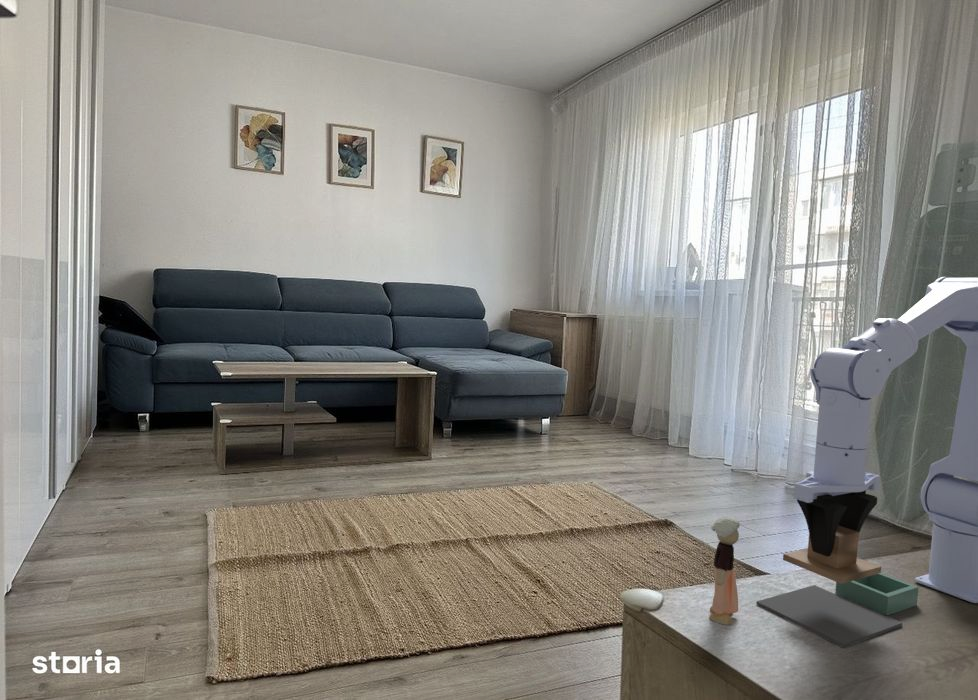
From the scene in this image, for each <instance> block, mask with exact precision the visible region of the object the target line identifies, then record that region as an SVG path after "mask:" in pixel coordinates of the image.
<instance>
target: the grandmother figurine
mask: <svg viewBox="0 0 978 700" xmlns="http://www.w3.org/2000/svg"><path fill="white" fill-rule="evenodd" d="M740 524H741V523H740V521H739V519H737V518H736V517H733V516H730V515H723V516H721V517H719V518H718V519H716V520H715V522H714V523H713V525H711V527H710V528H711V531H713V532H715V533H716V537H717V539H718V541H719V542H718V543H717V547H716V549H715V554H714V560H713V565H714V570H713V579H714V581H713V582H714V595H713V600H712V603H711V607H710V608H709V611H710V614H709V617H708V619H710V620H711V621H713V622H717V623H718V624H721V625H726V626H729V625H732V624H733V621H734V620H733V618H732V616H733V615H734V614H736V613H737V612H739V595H738V593H739V592H738V586H737V579H736V574H735V569H734V560H735V555H734V551H735V550H734V549H735V547H734V545H735V544H736V543H738V540H739V533H740V532H739V530H738V529H739V528H740V526H741V525H740Z"/></svg>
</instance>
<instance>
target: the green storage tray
mask: <svg viewBox="0 0 978 700" xmlns="http://www.w3.org/2000/svg"><path fill="white" fill-rule="evenodd" d="M834 594H836V595H839V596H841V597H843V598H846V599H848V600H850V601H853V602H855V603H857V604H860V605H862V606H864V607H867V608H869V609H871V610H874V611H876V612H878V613H881V614H883V615H885V616H891V615H893V614H895V613H898V612H902V611H904V610H907V609H910V608H913V607H916V606H917V605H918V598H919V597H918V596H919V586H917V585H915V584H912V583H909V582H906V581H904V580H901V579H898V578H896V577H894V576H893V577H892V576H890V575H888V574H885V573H883V572H881V573H878V574H875V575H871V576H868V577H864V578H861V579H857V580H854V581H851V582H847V583H844V584H840V583H838V582H836V583H835V591H834Z"/></svg>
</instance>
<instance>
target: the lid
mask: <svg viewBox="0 0 978 700" xmlns="http://www.w3.org/2000/svg"><path fill="white" fill-rule="evenodd" d="M859 535H860V532H857V531H854V530H851V529H848V528H845V527H842V526H839V525H838V528H837V531H836V536H835V542H834V547H833V550H832V553H831V555H830V556H824V555H821V554H819V553H816V552H813V550H812V545H811V540H810V535H809V534H808V543H807V544H808V546H807V547H806V548H802V549H797V550H794V551H789V552H786V553H782V560H783V561H785V562H787V563H790V564H791V565H795V566H797V567H799V568H802V569H804V570H807V571H809V572H812V573H813V574H816V575H818V576H821V577H823V578H827V579H828V580H831V581H834V582H838V583H840V584H844V583H847V582H851V581H854V580H857V579H861V578H864V577H868V576H871V575H875V574H878V573H882V566H881V565H878V564H875V563H874V562H870V561H867V560H864V559H862V558H860V557H858V546H859V537H860V536H859Z"/></svg>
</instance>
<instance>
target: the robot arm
mask: <svg viewBox="0 0 978 700" xmlns="http://www.w3.org/2000/svg"><path fill="white" fill-rule="evenodd" d="M941 327H944V329H946V330H947V331H949V332H950V333H951V334H952V335H953V336H956V337H958V338H960V339H961V340H962V342H963V343H964V345H965V346H966V351H965V357H964V363H963V364H964V365H963V369H962V375H961V382H960V388H959V393H958V395H959V396H958V400H957V406H956V414H955V419H954V424H953V431H952V437H951V441H950V442H951V443H950V448H949V450H950V451H949V455H947V456H945V457H943V458H941V459H939V460H937V461H935V462H932V463H931V464H930V467H929V471H928V474H927V477H926V479H925V481H924V483H923V485H922V486H921V490H920V502H921V505H922V509H923V510H924V511H925V512H926V513H927V514H928V521H931V522H933V524H932V535H931V544H930V555H929V565H928V573H926V574H923V575H921V576H917V577H915V578H914V581H915V583H918V584H921V585H924V586H925V587H930V588H932V589H935V590H938V591H940V592H942V593H945V594H948V595H951V596H953V597H956V598H959V599H962V600H965V601H966V602H969V603H972V604H978V277H976V276H975V277H952V276H940V277H939V278H937V279H935V281H934V282H932V283H930V284H928V285H927V287H926V290H925V296H924V297H923V298H921V299H920V300H919V301H918V302H917V303H915V304H914V305H913V306H912V307H911V308H909V309H908V310H907V311H906V312H904V313H903V314H902V315H901V316H900V317H899V318H897V319H896V318H892V317H891V318H890V317H889V318H881V317H879V318H877V319H875V320H873V322H872V326H871V327H869V328H867V329H866V330H865V331H863V332H862V333H861V334H859V335H858V336H856V337H854V336H853V337H852V338H850V339H849V340H848V341H847V343H846V344H844V345H843V346H842V347H840V348H839V347H830V348H827V349H826V350H824V351H823V352H821V353H819V355H818V356H817V357H816V358H815V361H814V364H813V367H811V368H810V371H809V373H810V374H809V375H810V380H811V383H812V385H813V386H814V389H815V397H814V400H815V401H816V404H817V405H818V415H817V416H818V417H817V427H816V429H817V430H816V443H815V451H814V452H815V454H814V466H813V470H811V471H806V472H805V477H806V478H805V479H803V480H802V481H799V482H794V485H793V486H794V487H793V499H795V500H796V501H797V504H798V506H799V507H800V509H801V511H802V513H803V514H802V515H804V519H805V522H806V525H807V530H808V536H809V535H810V540H811V545H812V550H813V552H816V553H819V554H821V555H824V556H830V555H831V553H832V550H833V547H834V542H835V536H836V531H837V528H838V525H839V526H842V527H845V528H848V529H851V530H854V531H857V532H859V533H861V530H862V527H863V525H864V523H865V520H866V519H867V518H868V516H869V514H870V513H871V512H872V510H873V509H874V508H875V507H876V505H877V504H878V497H877V495H876V496H875V495H872V494H870V493H869V494H868V493H866V492H867V491H874V492H875V491H879V489H880V479H881V477H880V475H879V474H874V473H871V472H867V470H866V469H867V460H868V449H869V439H870V438H869V435H870V428H871V427H870V426H871V425H870V424H871V416H872V415H871V414H872V412H871V411H872V403H873V402H872V401H873V397H875V396H879V395H880V393H881V392H882V391H883V389H884V387H885V385H886V384H885V383H886V381H887V379H889V377H890V376H891V373H892V371H893V370H894V369H896V368H897V367H899V366H900V365H901V364H903V363H905V362H906V361H907V360H908V359H910V358H911V357H913V356H914V355H915V354H916V353H917V351H918V349H919V348H918V347H919V341H920V340H921V339H923V338H924V337H926V336H928V335H929V334H931V333H933V332H934V331H936V330H938V329H940V328H941ZM970 480H971V481H970Z"/></svg>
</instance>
